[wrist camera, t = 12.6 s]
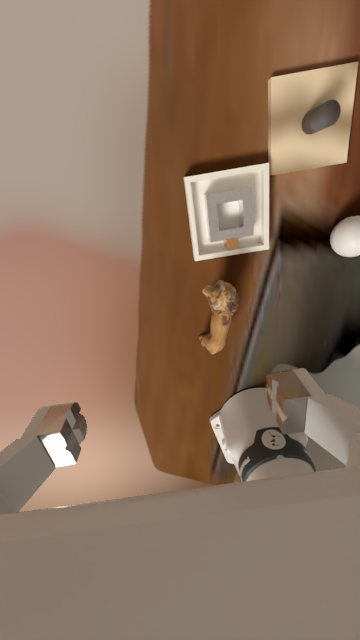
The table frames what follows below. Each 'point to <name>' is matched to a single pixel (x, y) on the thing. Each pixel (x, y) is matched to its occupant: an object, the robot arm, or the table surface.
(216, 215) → the ring
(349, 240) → the white egg
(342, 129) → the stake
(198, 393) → the table surface
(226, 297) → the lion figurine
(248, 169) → the tray
